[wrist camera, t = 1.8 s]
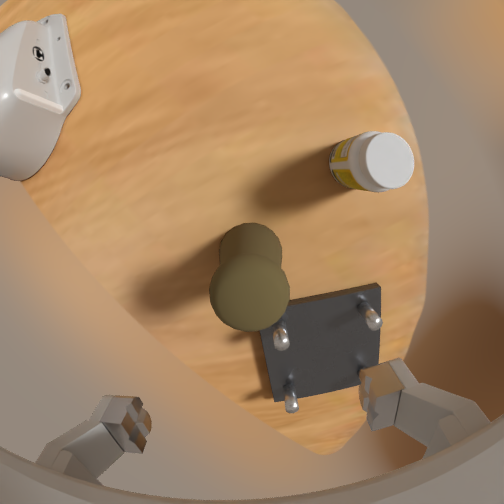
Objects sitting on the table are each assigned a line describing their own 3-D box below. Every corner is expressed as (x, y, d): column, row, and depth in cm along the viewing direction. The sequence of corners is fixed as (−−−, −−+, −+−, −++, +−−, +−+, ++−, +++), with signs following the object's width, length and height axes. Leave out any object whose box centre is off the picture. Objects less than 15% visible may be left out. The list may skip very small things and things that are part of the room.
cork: (239, 293, 29) (232, 359, 18) (207, 242, 27) (179, 286, 17) (293, 265, 28) (316, 319, 17) (262, 210, 26) (269, 236, 16)
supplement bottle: (376, 186, 26) (421, 193, 17) (331, 190, 26) (364, 198, 18) (370, 138, 24) (413, 127, 16) (324, 140, 25) (355, 127, 16)
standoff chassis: (255, 306, 29) (256, 329, 24) (376, 282, 28) (395, 300, 24) (273, 395, 32) (276, 422, 28) (373, 374, 32) (386, 397, 27)
